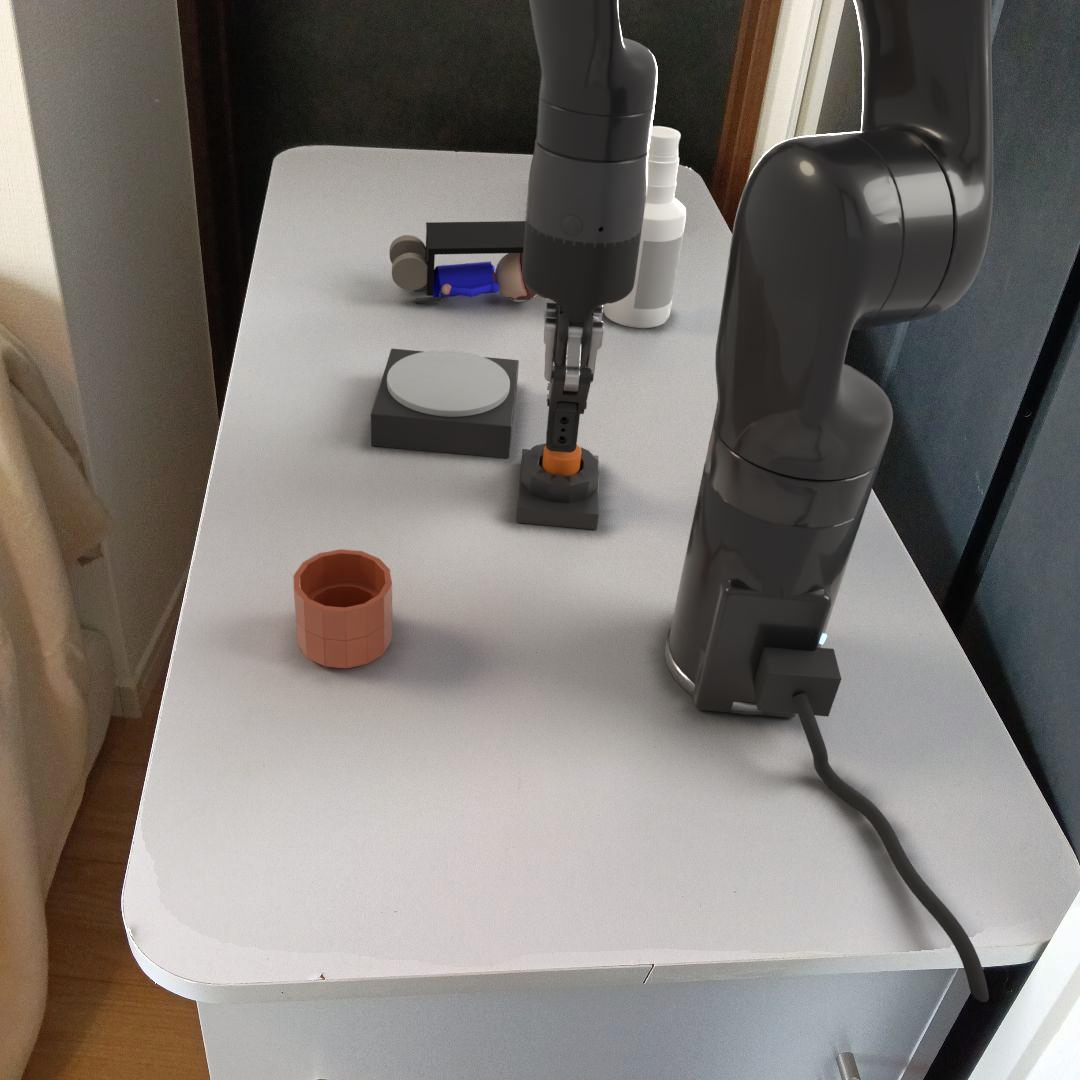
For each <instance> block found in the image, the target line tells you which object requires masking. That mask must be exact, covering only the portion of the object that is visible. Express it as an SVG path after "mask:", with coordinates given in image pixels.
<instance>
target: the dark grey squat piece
mask: <svg viewBox="0 0 1080 1080" xmlns="http://www.w3.org/2000/svg"><path fill="white" fill-rule="evenodd" d="M545 445H546V442H545V443H542V444H536V445H534V446H532V447H531V448H530V449H529V448H522V450H521V460H520V469H519V470H520V471H519V483H518V492H517V504H516V514H515V523H517V524H528V525H529V524H530V525H539V526H551V527H562V528H573V529H584V530H594V531H597V529H598V525H599V518H600V480H599V479H600V461H599V458H600V457H599V455H596V454H593V453H592V452H591V450H589V449H586V448H584V447H581V446H579V447H580V448H581V451H582V453H581V461H580V469H579V471H578V472H577V473H576V474H573V475H568V476H563V475H554V474H551V473H549V472H547V471H545V470H544V468H543V466H542V463H543V453H544V447H545Z"/></svg>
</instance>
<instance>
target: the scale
mask: <svg viewBox="0 0 1080 1080" xmlns="http://www.w3.org/2000/svg"><path fill="white" fill-rule="evenodd" d="M519 366H520V360H519V359H513V358H512V359H511V358H502V357H501V358H500V357H499V358H498V357H489V356H481V355H479V354H475V353H472V352H466V351H463V350H462V351H461V350H452V349H450V350H449V349H446V350H445V349H438V350H436V349H435V350H427V351H426V350H425V351H423V350H412V349H402V348H391V349H390V351H389V355H388V358H387V361H386V365H385V368H384V370H383V374H382V377H381V379H380V383H379V386H378V389H377V393H376V396H375V398H374V399H375V400H374V401H373V405H372V408H371V412H370V446H371V447H381V448H391V449H392V448H393V449H402V450H413V451H424V452H436V453H448V454H457V455H469V456H481V457H489V458H490V457H491V458H501V459H502V458H503V459H509V458H510V454H511V447H512V445H511V443H512V436H513V435H512V434H513V427H514V417H515V410H516V401H517V400H516V399H517V391H518V380H519V379H518V378H519V368H520V367H519Z"/></svg>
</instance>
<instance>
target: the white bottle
mask: <svg viewBox="0 0 1080 1080" xmlns="http://www.w3.org/2000/svg"><path fill="white" fill-rule="evenodd" d="M681 136H682V135H681V132H680V131H679V130H677V129H674V128H672V127H668V126H662V125H652V129H651V137H650V144H649V149H648V184H647V196H646V203H645V210H644V217H643V224H642V232H641V239H640V247H639V254H638V262H637V269H636V276H635V283H634V287H633V289H632V291H631V292H630V294H629V295H628V296H626V297H625V298H623V299H622V300H620V301H617V302H615V303H611V304H609V303H607V304H604V305H603V314H604V316H605V317H606V318H607V319H609V320H610V321H612V322H614V323H616V324H618V325H621V326H624V327H629V328H637V329H650V328H655V327H660V326H661V325H664V324H666V323H667V320H668V319H669V317H670V315H671V311H672V310H671V309H672V305H673V304H672V303H673V297H674V292H675V285H676V280H677V273H678V267H679V261H680V257H681V249H682V245H683V238H684V233H685V232H684V231H685V226H686V221H687V210H686V209H687V208H686V206H685V205H684V204H683V203H682V202H681V201H680V200H678V199H677V198H676V197H675V196H676V189H677V177H678V172H679V171H678V170H679V164H680V157H679V154H680V152H679V145H680V140H681V138H682V137H681Z"/></svg>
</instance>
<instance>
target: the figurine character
mask: <svg viewBox="0 0 1080 1080" xmlns="http://www.w3.org/2000/svg"><path fill="white" fill-rule="evenodd" d="M525 222H526V220H511V221H510V220H508V221H507V220H506V221H504V220H503V221H438V222H437V221H436V222H435V221H434V222H433V221H431V222H429V221H427V222H425V229H426V231H425V242H423V240H421V239H420V238H419V237H418V236H415V235H411V234H404V235H401V236H398V237H397V238H395V239H393V241H392V242H391V243H390V245H389V259H390V263H391V278H392V280H393V282H394V284H395V285H396V286H397V287H399V288H400V289H402V290H405V291H413V292H415V293H417V292H426V296H427V297H425V296H424V297H416V298H414V299H412V300H411V302H412V303H415V304H423V303H434V302H440V301H442V300H444V299H445V298H452V297H466V298H467V297H468V298H469V297H470V298H473V297H476V296H479V295H485V294H496V293H498V292H499V293H500V294H501V295H502V296H503V297H504V298H506V299H507V300H510V301H512V302H517V303H523V302H526V301H530V300H532V299H533V298H535V297H536V296H538V295H537V294H536V293H534V292H533V291H531V290H530V289H529V288H528V287H527V286H526V284H525V283H524V281H523V278H522V263H523V249H524V235H525ZM487 254H488V255H489V254H490V255H491V254H494V255H495V254H496V255H497V254H505V255H504V256H502V257H501V258H500V260H499V261H498V262H497V264H496V267H495V266H494V264H492V262H491V260H490V261H489V260H488V261H480V262H466V263H455V264H441V265H437V266H435V263H436V262H435V261H436V260H435V259H436V255H487Z"/></svg>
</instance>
